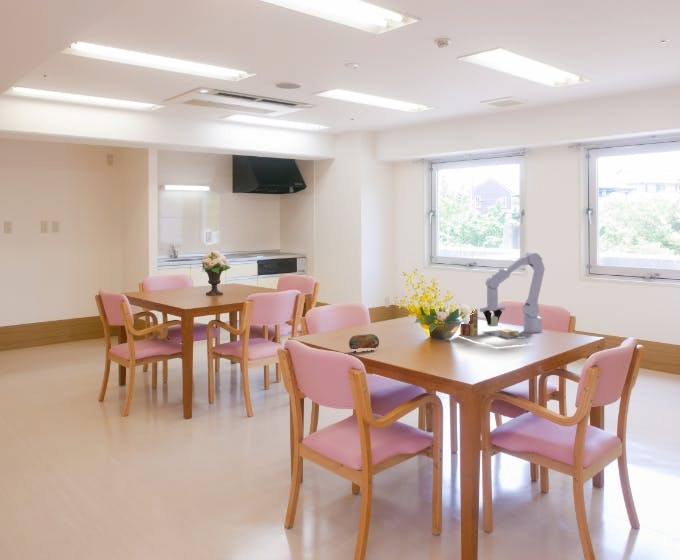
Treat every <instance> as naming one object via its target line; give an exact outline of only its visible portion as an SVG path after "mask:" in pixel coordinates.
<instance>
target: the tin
mask: <svg viewBox="0 0 680 560" xmlns="http://www.w3.org/2000/svg"><path fill="white" fill-rule="evenodd" d="M379 345H380V340H379V338H378V336H377V335H376V334H373V333H367V334H366V333H365V334H356V335H353V336H351V337H350V339H349V341H348V347H349V349H350V350H351V349H358V348H376V347H377V348H378V347H379Z"/></svg>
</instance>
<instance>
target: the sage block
mask: <svg viewBox="0 0 680 560" xmlns="http://www.w3.org/2000/svg"><path fill="white" fill-rule="evenodd" d="M487 326H489V327H491V328H492V327H498V326H499V321H498V317H496V316H494V315H491V324H490V325H489V324H487Z"/></svg>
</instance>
